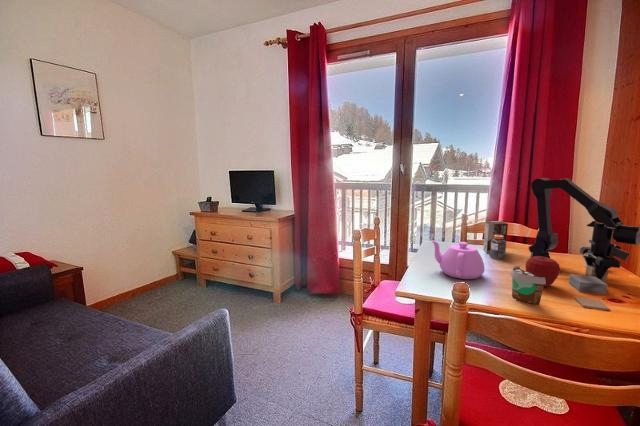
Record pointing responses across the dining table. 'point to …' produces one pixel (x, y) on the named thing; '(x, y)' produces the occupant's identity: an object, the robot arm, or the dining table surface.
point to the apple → (543, 268)
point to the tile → (591, 303)
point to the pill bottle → (497, 247)
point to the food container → (526, 286)
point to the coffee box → (494, 233)
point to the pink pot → (460, 261)
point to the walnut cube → (591, 272)
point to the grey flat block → (588, 284)
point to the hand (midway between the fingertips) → (595, 277)
